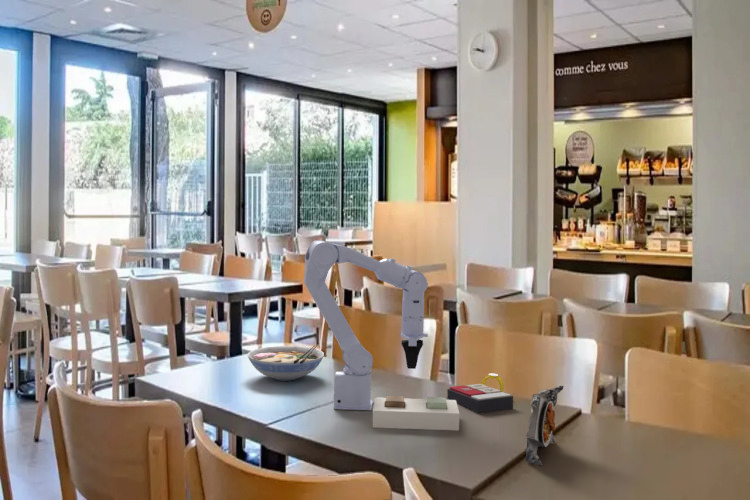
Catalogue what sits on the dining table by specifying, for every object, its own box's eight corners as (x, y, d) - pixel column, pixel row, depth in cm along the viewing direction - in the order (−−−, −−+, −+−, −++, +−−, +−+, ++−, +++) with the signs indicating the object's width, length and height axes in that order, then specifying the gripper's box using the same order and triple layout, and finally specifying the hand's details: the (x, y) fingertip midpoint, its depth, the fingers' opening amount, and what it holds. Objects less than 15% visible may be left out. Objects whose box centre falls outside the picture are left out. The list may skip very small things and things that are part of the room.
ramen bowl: (261, 366, 214) (261, 341, 213) (331, 370, 211) (332, 344, 210) (234, 386, 189) (234, 358, 189) (313, 391, 186) (314, 362, 186)
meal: (546, 466, 135) (548, 402, 134) (525, 462, 137) (527, 399, 136) (561, 444, 148) (564, 385, 147) (542, 440, 150) (544, 382, 149)
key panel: (372, 427, 156) (373, 410, 156) (374, 413, 167) (375, 397, 167) (459, 430, 155) (459, 413, 155) (455, 415, 166) (455, 400, 166)
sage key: (427, 416, 159) (427, 402, 159) (426, 411, 163) (427, 397, 163) (446, 417, 159) (446, 402, 159) (445, 411, 163) (445, 397, 163)
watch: (503, 397, 185) (506, 376, 185) (499, 399, 183) (501, 378, 182) (484, 391, 189) (486, 371, 188) (479, 393, 187) (482, 372, 186)
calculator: (480, 382, 187) (513, 393, 173) (480, 397, 187) (513, 410, 173) (446, 386, 182) (478, 397, 168) (446, 401, 182) (478, 414, 169)
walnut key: (385, 415, 159) (385, 400, 159) (385, 409, 164) (386, 395, 164) (403, 416, 159) (404, 401, 159) (403, 410, 164) (404, 396, 163)
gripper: (429, 321, 168) (427, 375, 168) (427, 312, 182) (426, 362, 183) (400, 320, 168) (399, 374, 169) (401, 312, 182) (400, 361, 183)
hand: (411, 368), depth 176 cm, fingers closed
